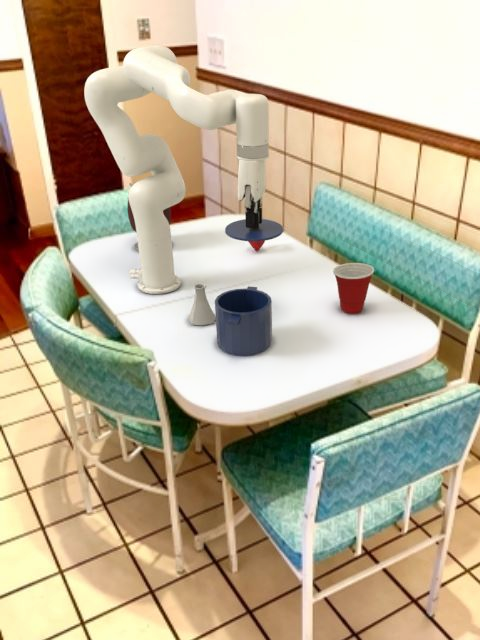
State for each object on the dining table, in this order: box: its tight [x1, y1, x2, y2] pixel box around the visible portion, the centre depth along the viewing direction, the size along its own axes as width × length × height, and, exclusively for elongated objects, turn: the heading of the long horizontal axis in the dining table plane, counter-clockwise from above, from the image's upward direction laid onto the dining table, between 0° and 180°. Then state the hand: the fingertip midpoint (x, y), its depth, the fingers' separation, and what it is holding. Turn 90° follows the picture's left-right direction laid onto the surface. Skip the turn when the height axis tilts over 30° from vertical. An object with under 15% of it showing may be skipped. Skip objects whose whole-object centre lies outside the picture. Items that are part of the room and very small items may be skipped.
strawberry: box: [247, 241, 266, 252], centre depth 207 cm, size 6×8×10 cm
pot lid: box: [224, 210, 284, 242], centre depth 159 cm, size 15×15×6 cm
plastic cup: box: [332, 262, 375, 315], centre depth 170 cm, size 11×11×12 cm
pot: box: [214, 285, 273, 357], centre depth 156 cm, size 14×19×12 cm
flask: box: [188, 282, 216, 326], centre depth 167 cm, size 7×7×10 cm
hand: (253, 224), depth 160 cm, fingers closed on pot lid, 2 cm apart
